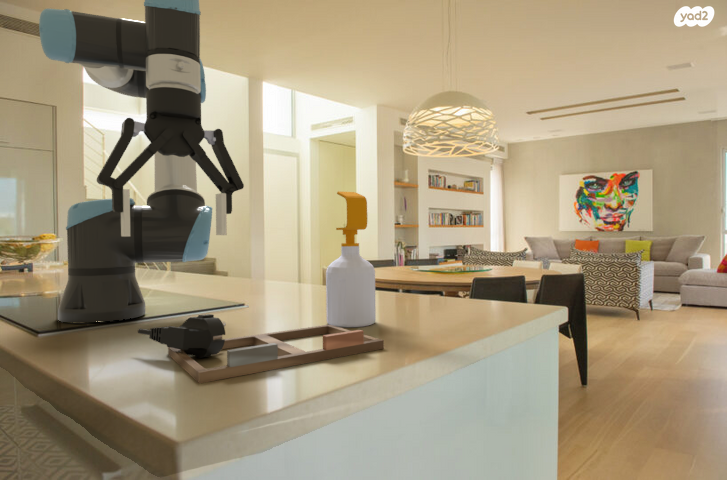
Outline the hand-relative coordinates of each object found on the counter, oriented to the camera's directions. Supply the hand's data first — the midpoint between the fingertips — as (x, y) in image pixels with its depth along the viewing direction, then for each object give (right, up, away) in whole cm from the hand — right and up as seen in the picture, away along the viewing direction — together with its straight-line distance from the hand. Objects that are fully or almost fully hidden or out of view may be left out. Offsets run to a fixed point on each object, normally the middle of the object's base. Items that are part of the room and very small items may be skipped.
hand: (176, 236), depth 69 cm
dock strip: (+16, -16, -4) cm, 23 cm away
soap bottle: (+26, -16, +17) cm, 35 cm away
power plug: (-2, -13, -2) cm, 14 cm away
